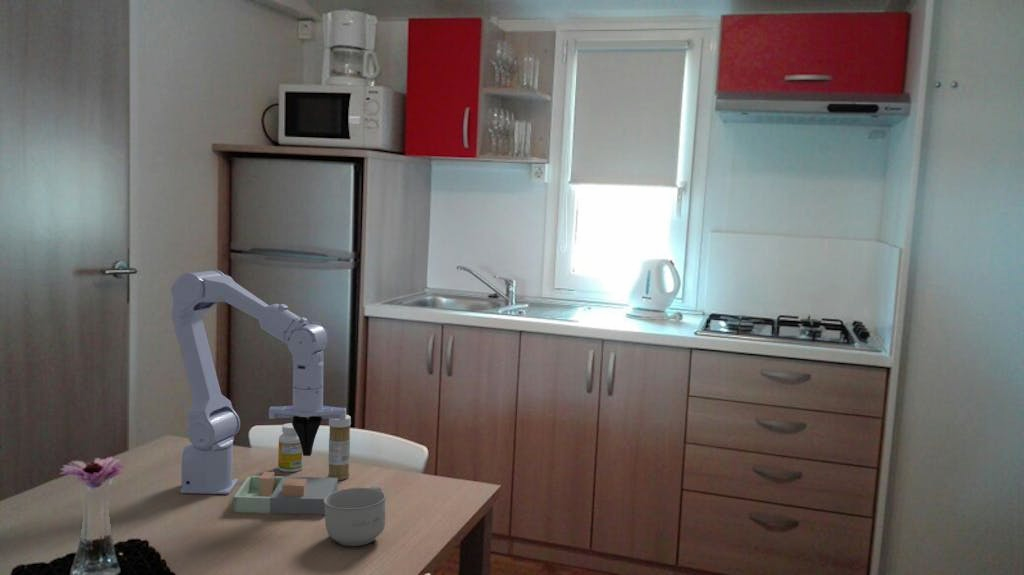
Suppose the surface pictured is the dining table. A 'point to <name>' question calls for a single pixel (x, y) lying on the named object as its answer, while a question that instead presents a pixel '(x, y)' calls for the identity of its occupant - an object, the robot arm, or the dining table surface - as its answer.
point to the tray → (252, 497)
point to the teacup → (355, 515)
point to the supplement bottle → (290, 450)
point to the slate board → (303, 497)
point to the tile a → (266, 484)
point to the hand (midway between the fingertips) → (307, 454)
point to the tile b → (294, 487)
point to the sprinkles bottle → (339, 448)
